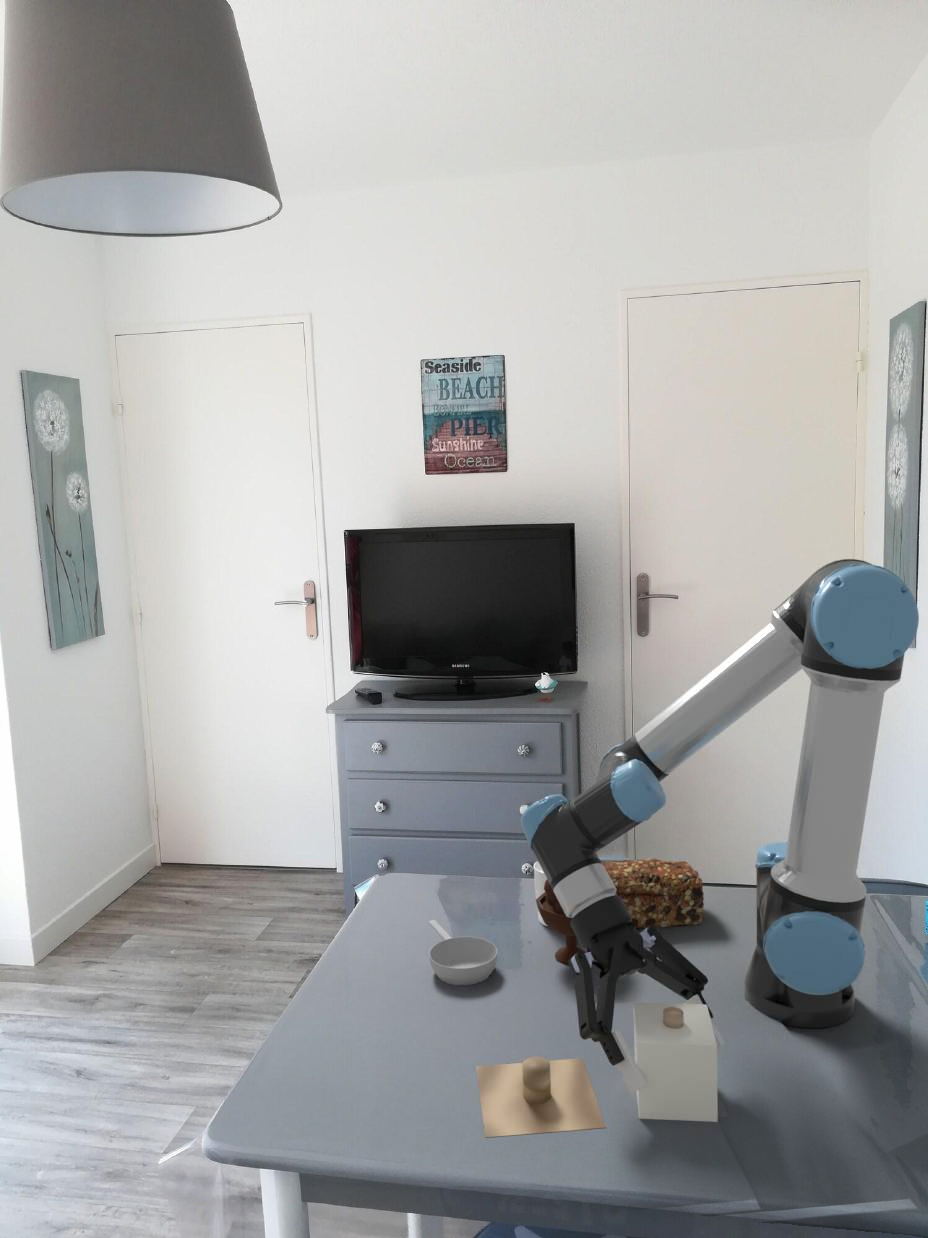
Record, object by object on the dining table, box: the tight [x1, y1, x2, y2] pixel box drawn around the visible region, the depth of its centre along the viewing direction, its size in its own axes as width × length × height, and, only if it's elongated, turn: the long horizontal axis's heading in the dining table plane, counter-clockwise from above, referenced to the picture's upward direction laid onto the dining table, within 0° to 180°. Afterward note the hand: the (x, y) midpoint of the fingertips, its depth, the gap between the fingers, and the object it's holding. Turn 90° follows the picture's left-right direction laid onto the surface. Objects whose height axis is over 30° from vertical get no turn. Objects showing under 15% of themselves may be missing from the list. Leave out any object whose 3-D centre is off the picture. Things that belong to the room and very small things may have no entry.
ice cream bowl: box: [535, 879, 587, 966], centre depth 154 cm, size 11×11×15 cm
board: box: [475, 1057, 607, 1139], centre depth 117 cm, size 14×14×1 cm
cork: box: [521, 1056, 551, 1104], centre depth 117 cm, size 3×3×4 cm
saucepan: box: [428, 919, 498, 986], centre depth 154 cm, size 11×18×4 cm, turn 25°
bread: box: [601, 858, 705, 929], centre depth 168 cm, size 19×11×10 cm, turn 90°
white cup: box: [532, 860, 549, 928], centre depth 168 cm, size 8×8×10 cm
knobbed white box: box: [633, 1002, 719, 1123], centre depth 115 cm, size 9×9×11 cm
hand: (679, 1069), depth 115 cm, fingers closed on knobbed white box, 13 cm apart
